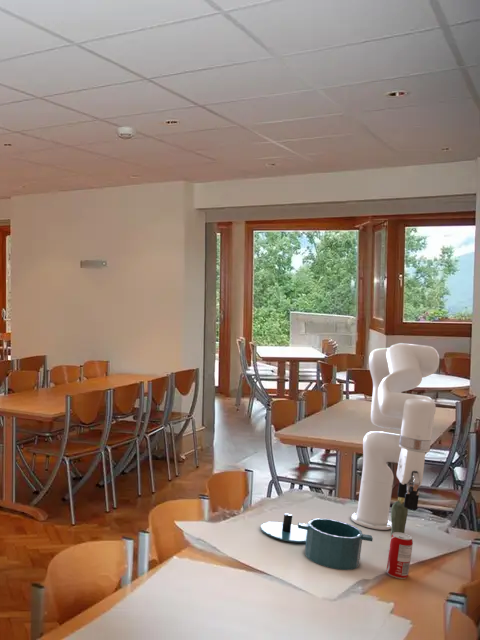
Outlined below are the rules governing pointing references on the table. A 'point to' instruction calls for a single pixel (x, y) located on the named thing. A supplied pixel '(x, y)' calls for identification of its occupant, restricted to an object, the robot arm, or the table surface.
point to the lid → (284, 530)
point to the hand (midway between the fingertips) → (406, 502)
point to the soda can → (399, 555)
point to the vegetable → (398, 516)
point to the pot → (333, 543)
